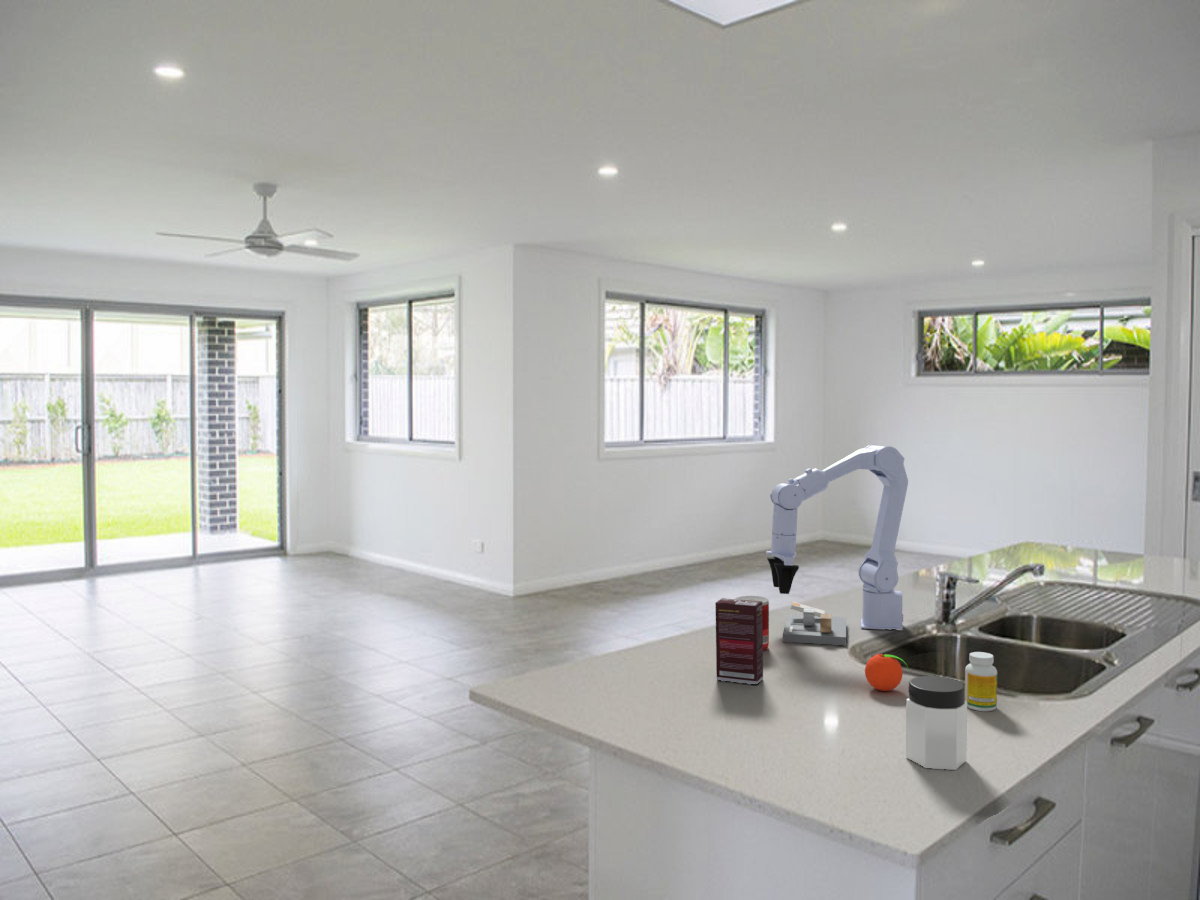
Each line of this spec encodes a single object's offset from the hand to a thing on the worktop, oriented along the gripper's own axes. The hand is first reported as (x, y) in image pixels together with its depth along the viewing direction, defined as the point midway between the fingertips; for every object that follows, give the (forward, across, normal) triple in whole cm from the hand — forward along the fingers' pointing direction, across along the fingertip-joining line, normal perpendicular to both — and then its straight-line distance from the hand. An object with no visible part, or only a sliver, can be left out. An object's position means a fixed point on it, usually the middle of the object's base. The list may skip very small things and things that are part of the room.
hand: (781, 590), depth 219 cm
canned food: (+11, +14, -9) cm, 20 cm away
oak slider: (+7, +9, +9) cm, 14 cm away
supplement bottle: (+9, +55, +26) cm, 61 cm away
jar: (+10, +78, +10) cm, 79 cm away
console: (+9, +3, +8) cm, 13 cm away
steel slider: (+7, +3, +6) cm, 10 cm away
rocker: (+5, -3, +7) cm, 10 cm away
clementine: (+10, +45, +12) cm, 47 cm away
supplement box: (+11, +38, -15) cm, 42 cm away
